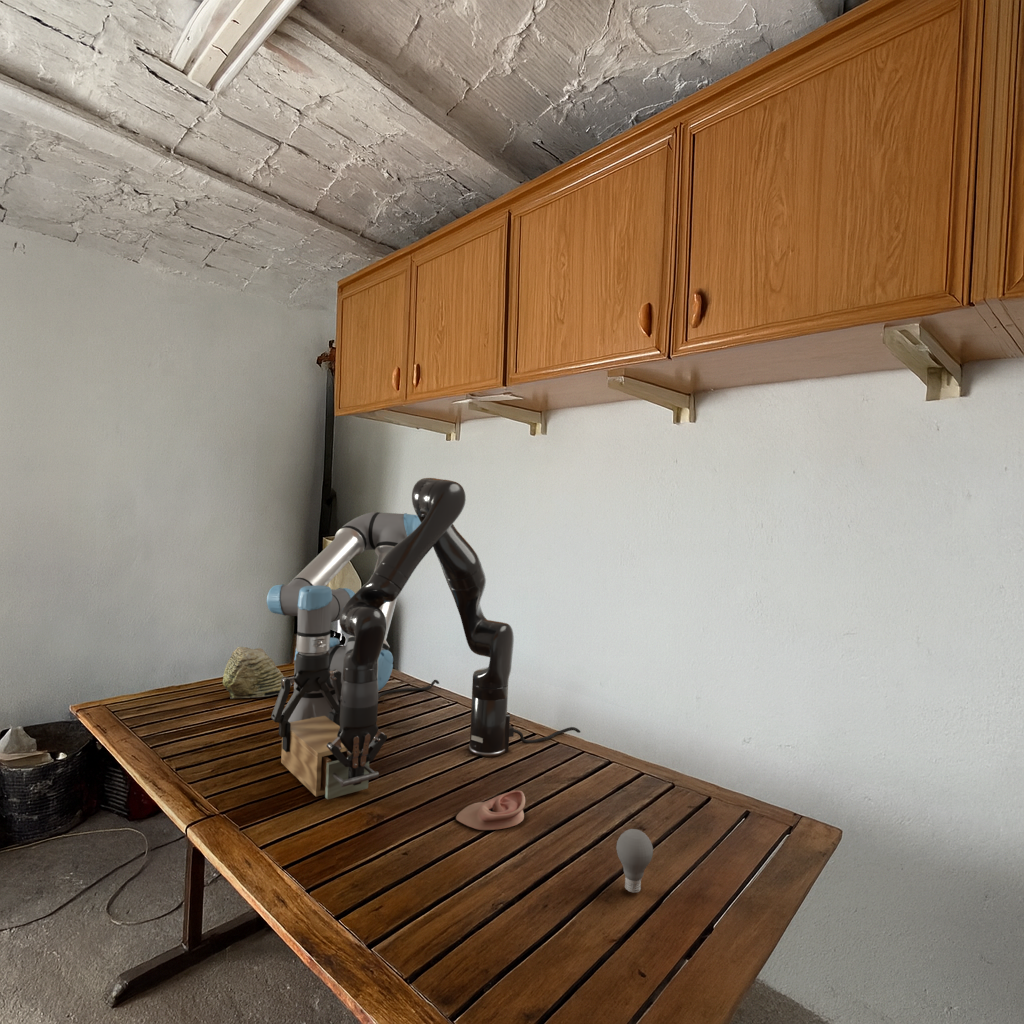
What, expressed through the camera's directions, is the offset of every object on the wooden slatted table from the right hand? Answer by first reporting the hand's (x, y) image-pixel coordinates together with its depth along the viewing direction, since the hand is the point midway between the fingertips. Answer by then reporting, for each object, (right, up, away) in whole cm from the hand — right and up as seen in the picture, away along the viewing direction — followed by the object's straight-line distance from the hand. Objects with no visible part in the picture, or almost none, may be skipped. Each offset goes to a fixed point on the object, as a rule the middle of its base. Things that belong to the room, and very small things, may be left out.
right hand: (355, 783), depth 131 cm
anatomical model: (+28, -6, -3) cm, 29 cm away
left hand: (-16, +1, +19) cm, 25 cm away
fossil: (-48, -1, +67) cm, 83 cm away
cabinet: (-12, -4, +14) cm, 19 cm away
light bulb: (+52, -7, -25) cm, 59 cm away
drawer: (-7, -3, +8) cm, 11 cm away
